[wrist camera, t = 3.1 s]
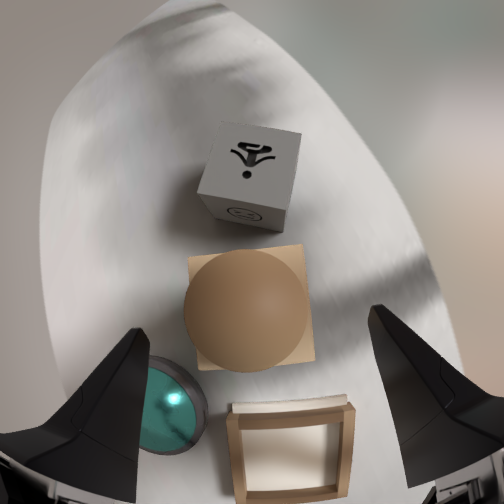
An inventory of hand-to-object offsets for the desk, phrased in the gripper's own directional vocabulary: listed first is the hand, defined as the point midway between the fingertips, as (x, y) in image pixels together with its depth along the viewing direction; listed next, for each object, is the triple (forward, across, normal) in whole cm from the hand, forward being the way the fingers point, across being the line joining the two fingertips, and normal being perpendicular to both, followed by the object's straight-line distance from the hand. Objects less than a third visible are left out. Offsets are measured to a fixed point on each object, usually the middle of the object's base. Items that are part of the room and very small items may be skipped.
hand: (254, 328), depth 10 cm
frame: (-2, -1, +14) cm, 14 cm away
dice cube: (+12, 0, 0) cm, 12 cm away
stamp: (+6, 0, +6) cm, 9 cm away
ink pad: (+1, +9, +10) cm, 14 cm away
